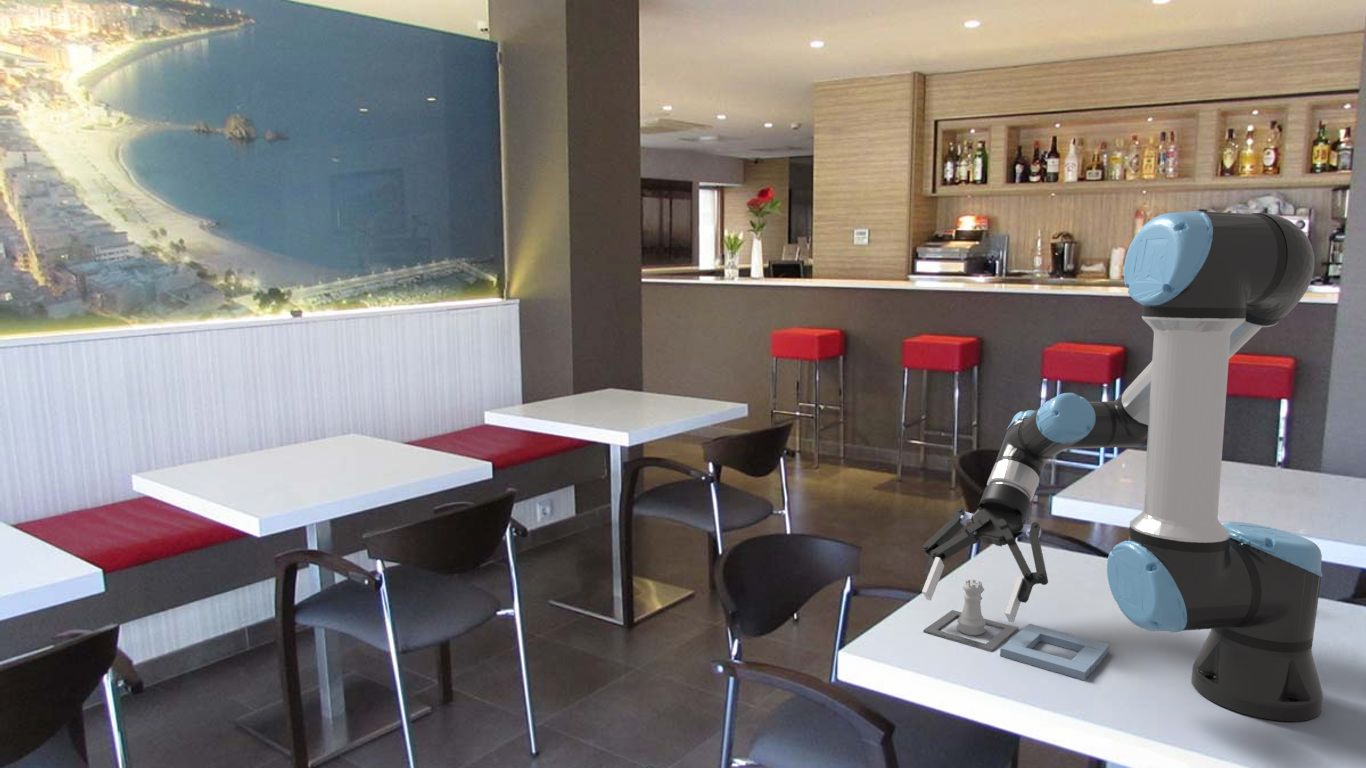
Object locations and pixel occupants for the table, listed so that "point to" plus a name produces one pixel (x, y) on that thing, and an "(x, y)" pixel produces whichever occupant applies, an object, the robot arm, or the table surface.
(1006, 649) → the socket
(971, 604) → the rook chess piece
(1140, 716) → the table surface
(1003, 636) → the bezel
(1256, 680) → the robot arm
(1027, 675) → the table surface
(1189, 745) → the table surface
